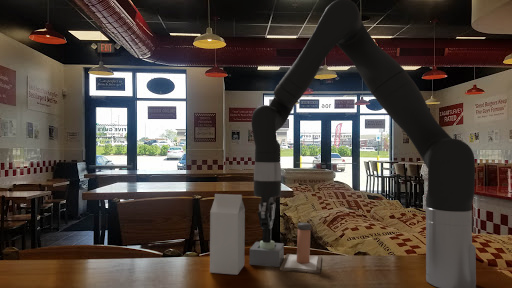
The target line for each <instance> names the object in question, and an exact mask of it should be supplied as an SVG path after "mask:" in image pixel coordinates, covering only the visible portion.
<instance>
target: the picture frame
mask: <svg viewBox="0 0 512 288" xmlns="http://www.w3.org/2000/svg"><path fill="white" fill-rule="evenodd" d="M322 257H323V256H321V255H310V259H309V263H306V264H303V263H298V262H297V253H295V254H294V253H286V255H284V258H283V260H282V262H281V264H280V267H279V271H281V272H282V271H284V272H295V273H297V272H298V273H306V272H307V273H309V274H318V275H319V274H321V268H322V259H323V258H322ZM307 273H306V274H307Z"/></svg>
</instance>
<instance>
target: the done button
mask: <svg viewBox="0 0 512 288" xmlns="http://www.w3.org/2000/svg"><path fill="white" fill-rule="evenodd" d="M259 242H260V248H264V249H274V248H275V243H276V242H275V241H274V240H272V239H271V241H270V243H266V242H263V241H262V240H260V241H259Z"/></svg>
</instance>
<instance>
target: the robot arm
mask: <svg viewBox="0 0 512 288" xmlns="http://www.w3.org/2000/svg"><path fill="white" fill-rule="evenodd" d="M359 10H360V9H359V8H358V6H357V5H356V3H355V2H354V1H352V0H334V1H333V2H331V3H330V4H329V5H328V6H327V7H326V8H325V9H324V12H323V14H322V15H321V17H320V19H319V21H318V23H317V25H316V26H315V28H314V30H313V33H312V34H311V36H310V38H309V40H308V41H307V42H306V45H304V47H303V49H302V50H301V52H300V54H299V55H298V57H297V58H296V60H295V61H294V62H293V63H292V65H291V67H290V68H289V69H288V70H287V72H286V73H285V74H284V75H283V77H282V78H281V80H280V81H279V82H278V84H277V85H276V87H275V89H274V90H273V96H274V97H273V99H272V100H271V102H270V103H269V105H268V104H263V105H259V106H257V107H256V108H255V109H254V110H253V112H252V116H251V131H252V136H253V141H254V147H255V149H254V152H255V153H254V168H253V169H254V170H253V196H255V197H257V198H258V197H259V198H260V202H259V204H258V209H259V210H258V211H257V215H258V221H259V227H260V228H261V229H262V240H261V241H263V242H266V243H270V241H271V240H272V228H273V224H274V222H275V221H274V220H275V212H276V202H274V198H278V197H281V195H282V168H281V167H282V165H281V144H280V142H278V140H277V138H278V137H277V131H279V130H280V129H281V128H282V127H283V126H284V125H285V123H286V122H287V120H288V118H289V117H290V115H291V113H292V111H293V110H294V107H295V105H296V104H297V103H298V102H299V100H300V99H301V98H302V97H303V95H304V94H305V93H306V91H307V90H308V89H309V87H310V86H311V85H312V83H313V81H314V80H315V78H316V76H317V73H319V70H320V68H321V66H322V65H323V63H324V61H325V60H326V58H327V56H328V55H329V54H330V52H331V51H332V50H333V49H334V47H335V46H337V47H338V48H339V49H340V50H341V51H342V52H343V53H344V54H345V55H346V57H348V58H349V60H350V61H351V62H352V63H353V65H354V67H355V69H356V70H357V72H358V74H359V75H360V77H361V79H362V80H363V82H364V84H365V86H366V87H367V88H368V90H369V92H370V93H371V94H372V96H373V97H374V99H375V100H376V101H377V102H378V104H379V105H380V107H382V109H384V111H385V112H386V114H388V116H389V117H390V118H391V119H392V120H393V121H394V123H395V124H396V125H397V126H398V127H399V128H400V129H401V130H402V131H403V132H404V133H405V134H406V135H407V137H408V138H409V140H410V141H411V143H412V144H413V146H414V147H415V149H416V151H417V152H418V154H419V156H420V158H421V159H422V161H423V163H424V164H425V167H426V168H427V189H426V190H427V192H426V195H425V232H426V233H425V280H426V282H427V283H429V284H430V285H432V286H434V287H435V288H477V274H476V273H477V272H476V270H477V268H476V267H477V266H476V265H477V263H476V258H477V255H476V253H477V252H476V251H477V250H476V249H477V247H476V246H475V245H474V244H473V218H472V217H473V211H472V209H473V206H472V205H473V201H474V197H475V189H476V188H475V187H476V185H475V183H476V181H475V180H476V174H475V173H476V160H475V154H474V152H473V150H472V148H471V146H470V145H469V144H468V143H466V142H465V141H464V140H460V139H458V138H452V136H450V134H449V133H447V132H446V130H445V129H444V128H443V127H442V126H441V124H439V123H438V121H437V120H436V119H435V117H434V116H433V114H432V112H431V110H430V109H429V106H428V103H427V102H426V100H425V98H424V96H423V94H422V92H421V90H420V89H419V87H418V86H417V84H416V83H415V81H414V80H413V79H412V78H411V76H410V75H409V73H408V72H407V71H406V69H404V67H402V65H400V63H399V62H397V60H395V59H394V58H393V57H392V56H391V55H390V54H389V53H388V52H386V51H385V50H383V49H382V48H381V47H380V46H379V44H377V43H376V41H375V40H374V39H373V38H372V36H371V34H370V32H369V31H368V30H367V28H366V26H365V25H364V23H363V21H362V17H361V13H360V11H359Z"/></svg>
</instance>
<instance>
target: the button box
mask: <svg viewBox="0 0 512 288" xmlns="http://www.w3.org/2000/svg"><path fill="white" fill-rule="evenodd" d="M284 245H285V244H284V243H283V242H282V243H281V242H275V248H274V249H264V248H260V241H255V242H254V243H253V244H252V246H251V247H250V248H249V263H248V264H249V265H251V266H252V265H253V266H262V267H263V266H265V267H276V268H277V267H278V268H280V267H281V265H282V263H283V261H284V258H285V254H284V252H285V251H284V250H285V249H284V248H285V246H284Z"/></svg>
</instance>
